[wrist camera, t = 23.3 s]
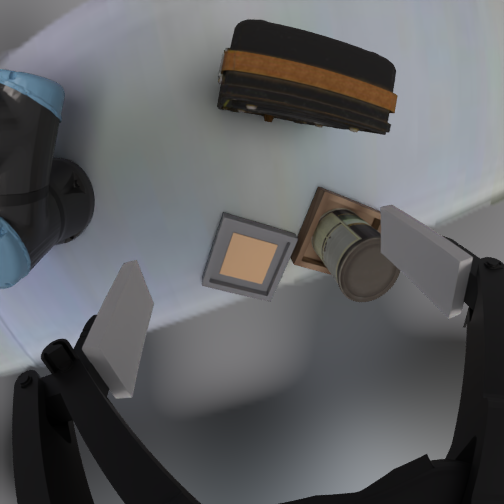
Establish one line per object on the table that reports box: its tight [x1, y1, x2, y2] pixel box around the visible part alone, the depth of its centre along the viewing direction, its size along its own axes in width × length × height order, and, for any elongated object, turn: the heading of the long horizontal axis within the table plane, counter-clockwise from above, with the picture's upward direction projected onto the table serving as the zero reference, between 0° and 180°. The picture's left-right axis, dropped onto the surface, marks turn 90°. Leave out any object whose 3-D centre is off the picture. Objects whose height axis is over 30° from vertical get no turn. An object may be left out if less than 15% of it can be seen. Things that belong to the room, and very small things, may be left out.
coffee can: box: [311, 208, 400, 302], centre depth 47 cm, size 10×10×14 cm
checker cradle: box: [202, 212, 298, 302], centre depth 53 cm, size 13×13×2 cm
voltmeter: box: [217, 20, 397, 135], centre depth 32 cm, size 16×9×25 cm, turn 81°
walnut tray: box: [290, 187, 381, 275], centre depth 52 cm, size 14×14×4 cm
